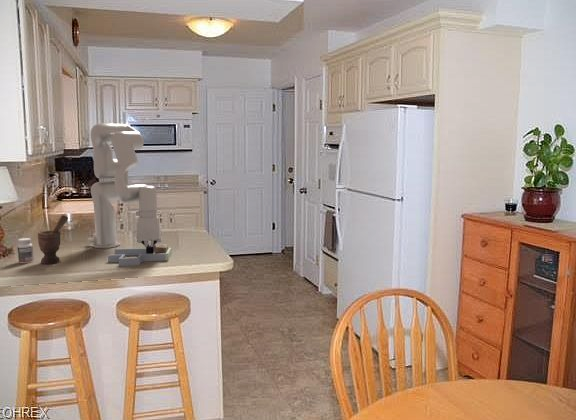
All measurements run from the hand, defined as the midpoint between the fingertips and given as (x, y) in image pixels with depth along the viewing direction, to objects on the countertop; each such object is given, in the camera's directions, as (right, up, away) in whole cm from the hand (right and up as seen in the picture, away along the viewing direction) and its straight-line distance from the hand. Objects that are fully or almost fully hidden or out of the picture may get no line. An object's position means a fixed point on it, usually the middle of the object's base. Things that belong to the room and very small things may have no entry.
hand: (150, 255), depth 223 cm
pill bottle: (-51, -2, -7) cm, 51 cm away
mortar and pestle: (-39, -2, -7) cm, 40 cm away
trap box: (-4, -1, 0) cm, 5 cm away
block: (+5, -1, +1) cm, 5 cm away
